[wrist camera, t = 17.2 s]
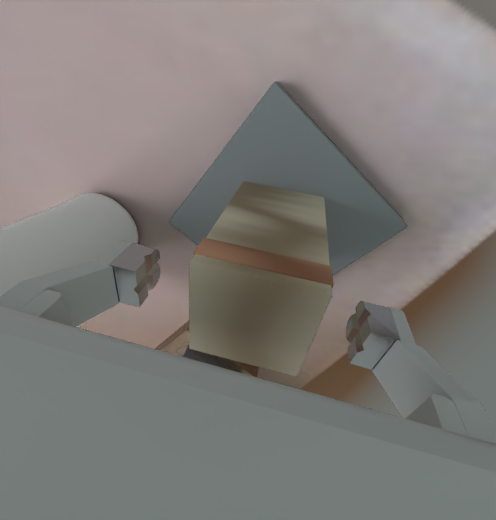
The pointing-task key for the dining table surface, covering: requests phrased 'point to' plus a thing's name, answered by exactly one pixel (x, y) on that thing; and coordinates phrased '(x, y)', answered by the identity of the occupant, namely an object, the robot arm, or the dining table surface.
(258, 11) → the dining table surface
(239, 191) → the block
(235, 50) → the dining table surface
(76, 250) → the drinking glass
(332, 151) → the mat
